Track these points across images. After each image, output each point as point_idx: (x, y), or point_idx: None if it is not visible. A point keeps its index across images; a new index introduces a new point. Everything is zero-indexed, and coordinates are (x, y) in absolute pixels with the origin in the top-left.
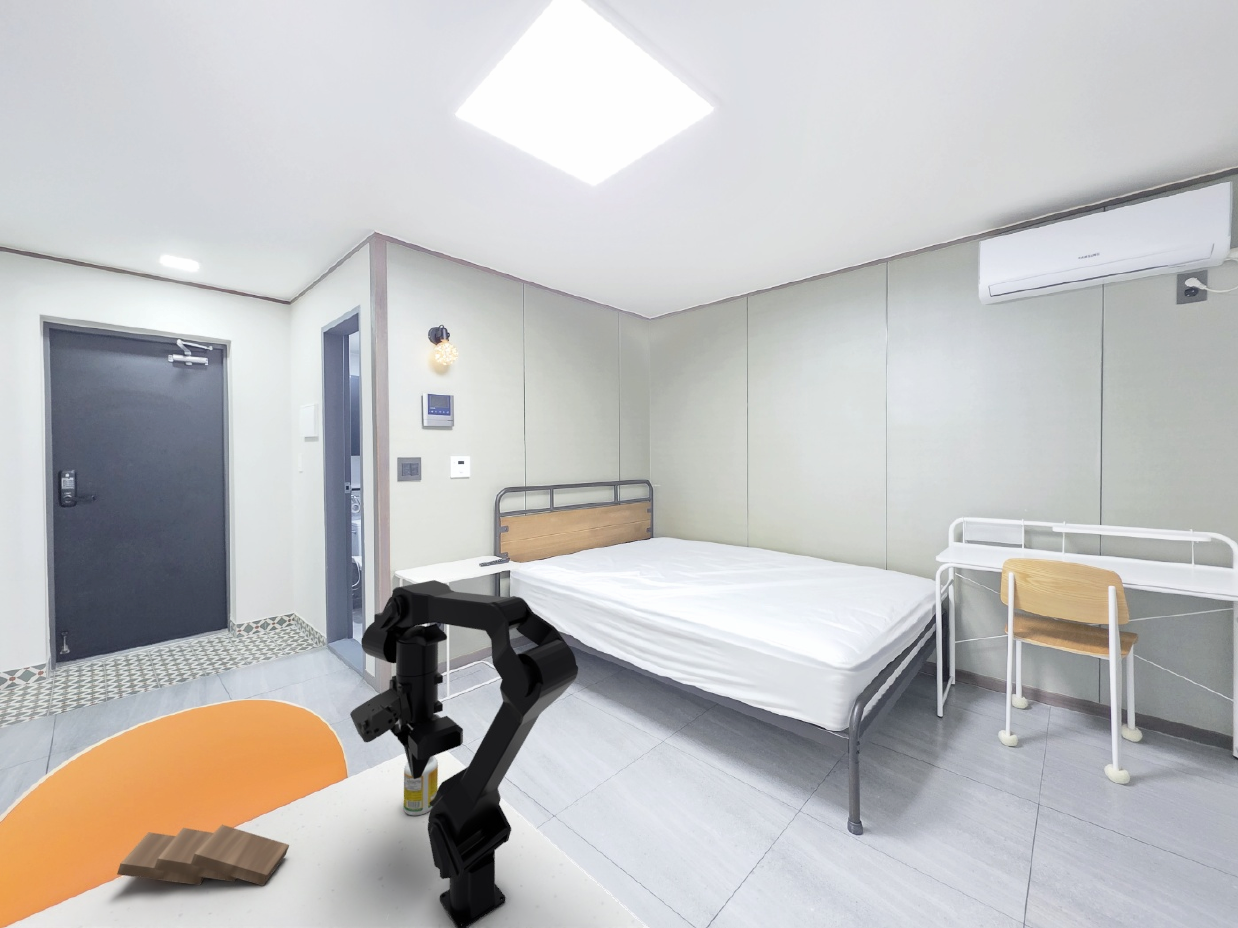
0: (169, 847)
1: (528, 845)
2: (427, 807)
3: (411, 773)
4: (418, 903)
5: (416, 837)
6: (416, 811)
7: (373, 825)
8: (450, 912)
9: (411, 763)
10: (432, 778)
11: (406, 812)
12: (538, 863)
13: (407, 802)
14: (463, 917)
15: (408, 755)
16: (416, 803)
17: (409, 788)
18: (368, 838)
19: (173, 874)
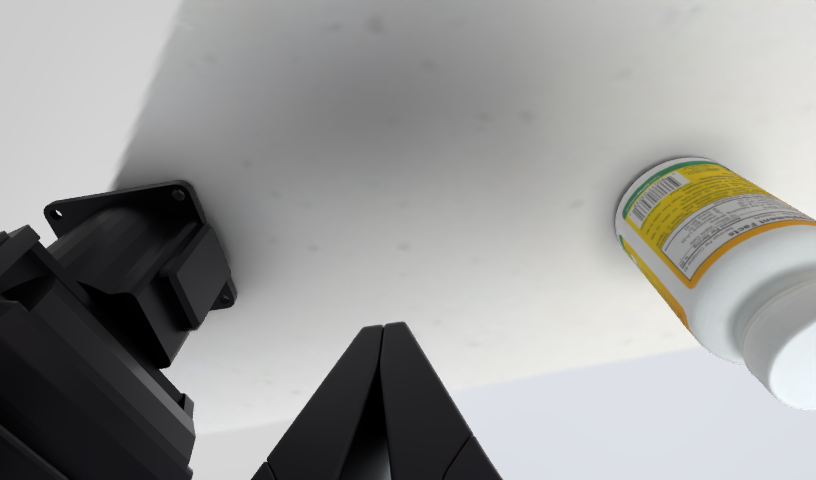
0: None
1: (292, 403)
2: (620, 232)
3: (390, 336)
4: (200, 123)
5: (510, 169)
6: (631, 195)
7: (698, 35)
8: (104, 198)
9: (315, 421)
10: (671, 307)
11: (665, 162)
12: (219, 402)
13: (680, 180)
14: (76, 223)
15: (391, 454)
16: (644, 208)
17: (703, 212)
18: (632, 6)
19: None
